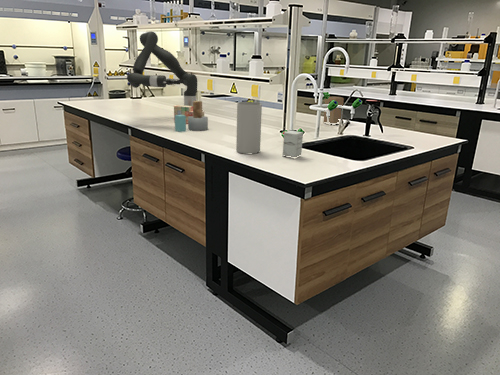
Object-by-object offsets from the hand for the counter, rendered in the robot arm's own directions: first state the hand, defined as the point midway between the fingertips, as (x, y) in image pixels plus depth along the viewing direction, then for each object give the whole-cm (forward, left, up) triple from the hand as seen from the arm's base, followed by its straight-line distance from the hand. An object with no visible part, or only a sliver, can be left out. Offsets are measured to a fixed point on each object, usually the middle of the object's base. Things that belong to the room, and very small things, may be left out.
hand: (182, 82), depth 256 cm
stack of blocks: (-14, +14, -30) cm, 36 cm away
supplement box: (+96, +2, -30) cm, 100 cm away
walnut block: (+8, +7, -22) cm, 24 cm away
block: (+46, +103, -30) cm, 117 cm away
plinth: (+8, +6, -30) cm, 32 cm away
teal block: (+7, -7, -30) cm, 31 cm away
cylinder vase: (+75, -9, -30) cm, 81 cm away
